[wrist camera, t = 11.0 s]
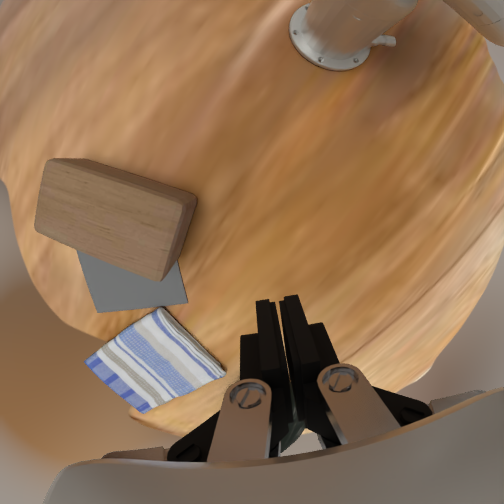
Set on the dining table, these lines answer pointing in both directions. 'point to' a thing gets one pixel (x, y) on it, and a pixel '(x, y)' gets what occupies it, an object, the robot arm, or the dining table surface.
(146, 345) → the dish towel
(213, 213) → the dining table surface
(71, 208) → the wooden block
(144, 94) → the dining table surface
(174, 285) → the mat
